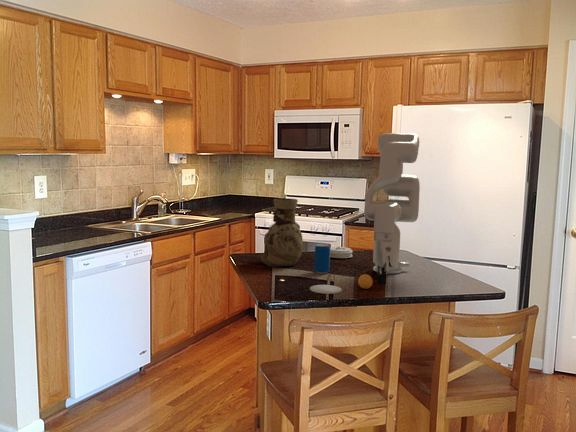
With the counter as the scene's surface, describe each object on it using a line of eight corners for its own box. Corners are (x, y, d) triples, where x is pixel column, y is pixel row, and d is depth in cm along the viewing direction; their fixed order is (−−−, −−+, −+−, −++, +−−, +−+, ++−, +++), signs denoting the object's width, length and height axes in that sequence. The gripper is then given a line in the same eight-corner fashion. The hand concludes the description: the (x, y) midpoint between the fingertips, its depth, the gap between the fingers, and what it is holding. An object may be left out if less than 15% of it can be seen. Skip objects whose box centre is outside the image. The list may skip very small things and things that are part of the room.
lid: (339, 253, 264) (339, 244, 264) (357, 258, 255) (358, 248, 254) (321, 256, 256) (321, 246, 256) (340, 261, 247) (340, 250, 246)
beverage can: (328, 274, 217) (329, 246, 216) (313, 273, 218) (314, 245, 217) (330, 271, 223) (331, 244, 222) (315, 270, 225) (316, 243, 223)
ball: (355, 273, 197) (355, 287, 198) (362, 276, 192) (362, 291, 192) (368, 272, 199) (368, 286, 199) (375, 275, 194) (375, 289, 194)
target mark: (336, 284, 200) (336, 284, 200) (345, 293, 189) (345, 292, 189) (306, 285, 198) (306, 285, 198) (314, 294, 186) (314, 293, 186)
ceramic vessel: (255, 268, 226) (256, 200, 222) (264, 258, 246) (266, 196, 243) (298, 270, 223) (300, 202, 219) (304, 261, 244) (306, 197, 240)
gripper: (401, 239, 189) (398, 288, 191) (385, 233, 203) (383, 278, 206) (381, 240, 187) (379, 289, 190) (367, 233, 202) (365, 279, 204)
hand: (381, 283), depth 198 cm, fingers closed
